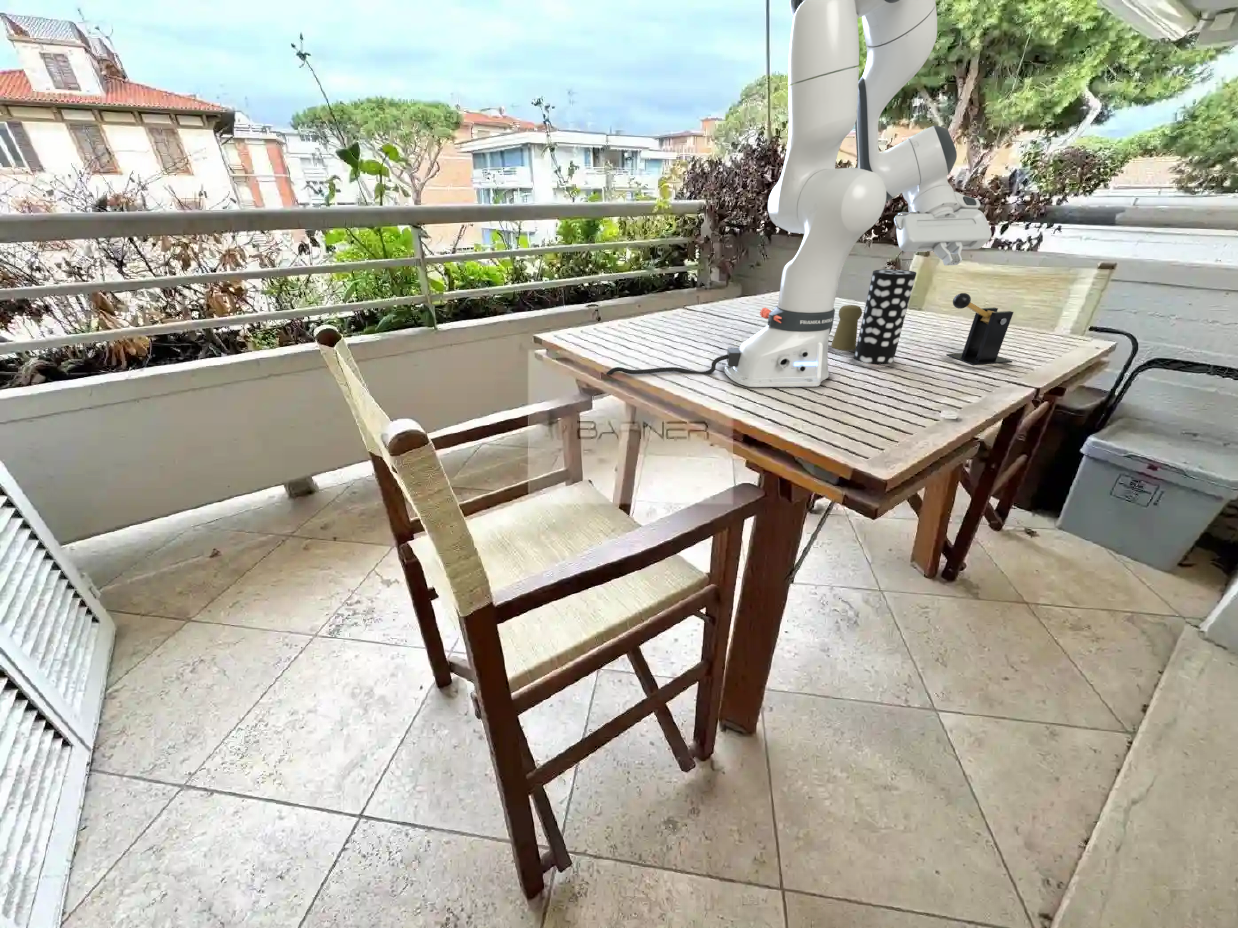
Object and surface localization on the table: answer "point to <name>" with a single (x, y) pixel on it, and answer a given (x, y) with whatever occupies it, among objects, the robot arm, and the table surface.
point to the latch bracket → (985, 339)
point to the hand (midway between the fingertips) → (953, 263)
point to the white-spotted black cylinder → (884, 315)
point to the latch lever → (970, 306)
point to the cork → (847, 328)
